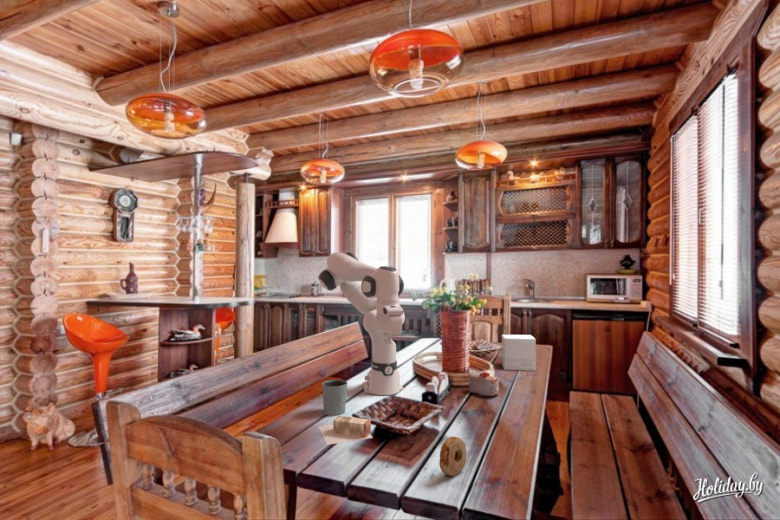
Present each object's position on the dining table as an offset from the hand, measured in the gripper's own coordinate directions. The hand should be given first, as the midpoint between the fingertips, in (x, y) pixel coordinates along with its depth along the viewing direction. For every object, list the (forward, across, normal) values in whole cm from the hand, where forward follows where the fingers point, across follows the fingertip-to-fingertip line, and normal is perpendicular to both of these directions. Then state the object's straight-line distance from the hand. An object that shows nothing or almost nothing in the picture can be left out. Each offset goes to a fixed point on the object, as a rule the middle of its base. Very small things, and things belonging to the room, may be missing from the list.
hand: (387, 343), depth 159 cm
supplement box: (+29, -46, +97) cm, 111 cm away
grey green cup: (+29, -13, -18) cm, 37 cm away
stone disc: (+29, +45, +4) cm, 54 cm away
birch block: (+26, +5, -22) cm, 35 cm away
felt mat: (+29, +8, -19) cm, 36 cm away
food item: (+29, -13, +52) cm, 61 cm away
